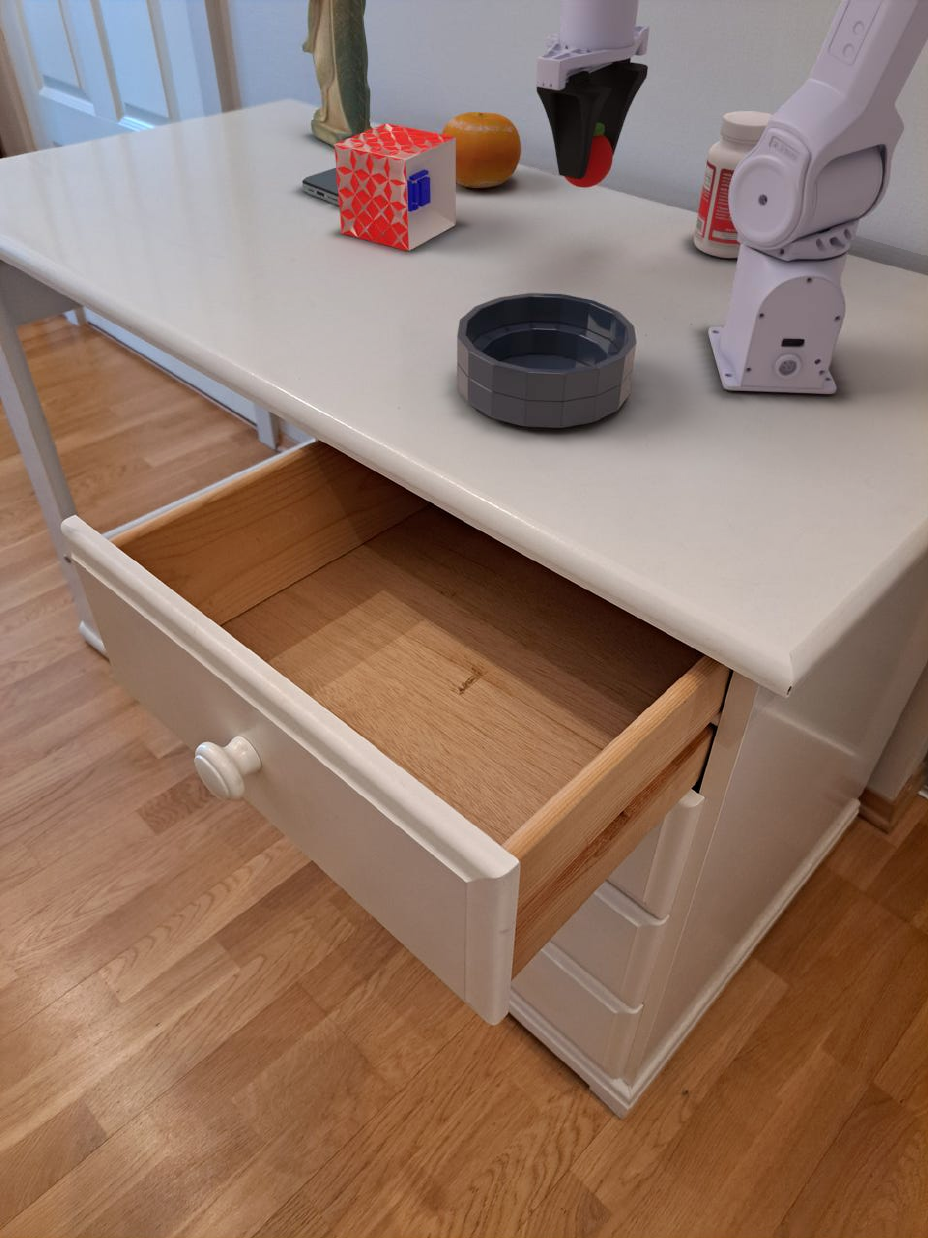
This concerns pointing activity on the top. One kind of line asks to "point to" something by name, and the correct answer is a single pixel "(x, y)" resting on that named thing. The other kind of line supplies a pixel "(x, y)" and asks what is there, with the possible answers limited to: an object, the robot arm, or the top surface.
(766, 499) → the top surface
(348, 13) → the statue
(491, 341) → the bowl
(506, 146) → the fruit
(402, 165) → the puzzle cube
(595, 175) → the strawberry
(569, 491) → the top surface
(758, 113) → the pill bottle
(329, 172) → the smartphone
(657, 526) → the top surface
